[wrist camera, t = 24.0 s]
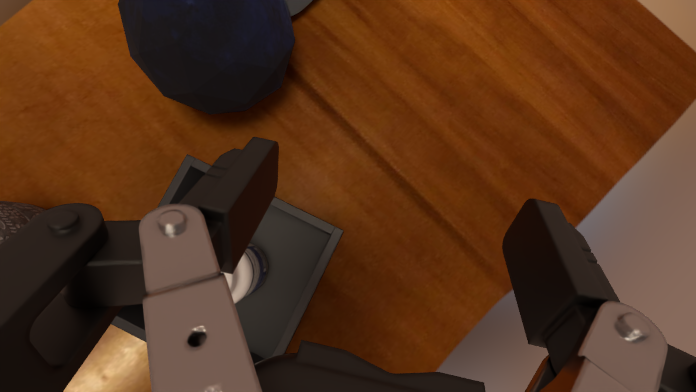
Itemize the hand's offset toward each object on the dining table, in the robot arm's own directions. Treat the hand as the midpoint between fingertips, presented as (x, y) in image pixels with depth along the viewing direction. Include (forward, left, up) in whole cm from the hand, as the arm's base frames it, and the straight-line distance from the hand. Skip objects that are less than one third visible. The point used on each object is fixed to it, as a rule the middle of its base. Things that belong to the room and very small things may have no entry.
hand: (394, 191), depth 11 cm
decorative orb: (+20, -10, -26) cm, 34 cm away
